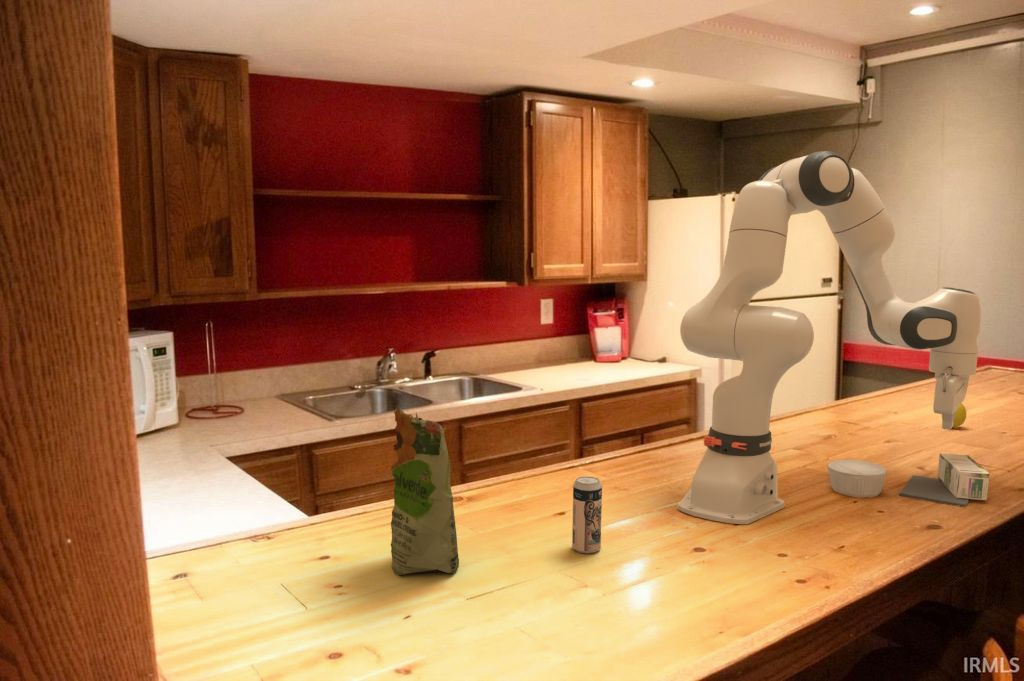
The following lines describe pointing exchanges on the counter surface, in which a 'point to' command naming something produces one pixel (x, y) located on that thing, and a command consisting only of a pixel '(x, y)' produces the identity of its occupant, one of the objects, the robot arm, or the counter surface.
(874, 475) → the ramekin
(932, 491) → the mat
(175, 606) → the counter surface
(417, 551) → the pouch
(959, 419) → the lemon
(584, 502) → the beer can
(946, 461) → the syrup box
